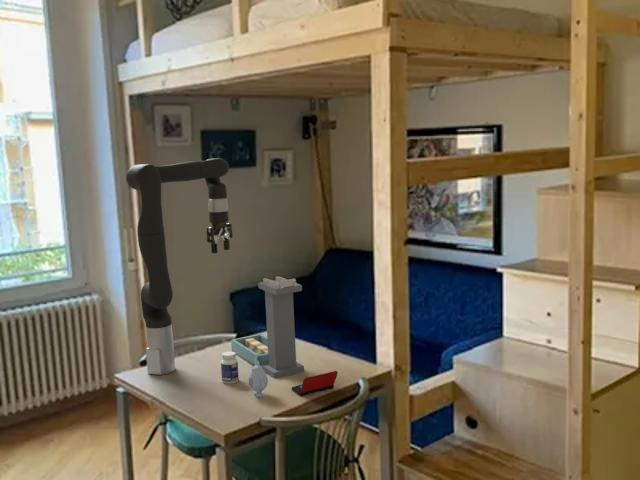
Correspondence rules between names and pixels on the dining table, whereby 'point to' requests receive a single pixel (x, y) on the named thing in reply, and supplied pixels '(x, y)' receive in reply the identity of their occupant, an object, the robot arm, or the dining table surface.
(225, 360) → the pill bottle
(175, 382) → the dining table surface
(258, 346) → the maple pin
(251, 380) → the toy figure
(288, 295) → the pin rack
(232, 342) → the teal tray
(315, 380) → the handheld game console
